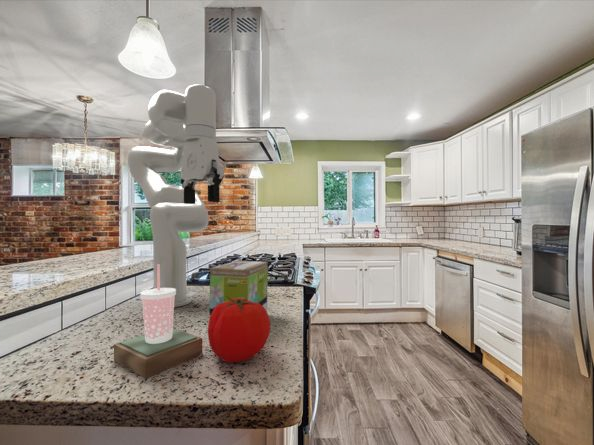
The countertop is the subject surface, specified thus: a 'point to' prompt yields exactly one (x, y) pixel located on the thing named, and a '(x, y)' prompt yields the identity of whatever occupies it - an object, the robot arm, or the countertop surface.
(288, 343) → the countertop surface
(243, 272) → the tea box
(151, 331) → the beverage cup
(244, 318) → the tomato
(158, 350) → the podium
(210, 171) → the robot arm
